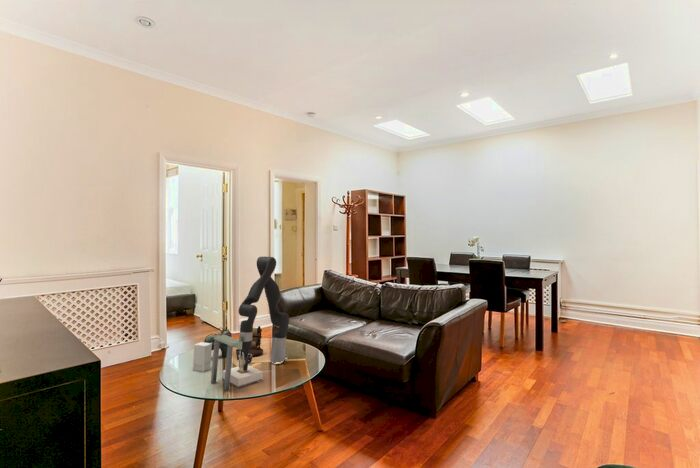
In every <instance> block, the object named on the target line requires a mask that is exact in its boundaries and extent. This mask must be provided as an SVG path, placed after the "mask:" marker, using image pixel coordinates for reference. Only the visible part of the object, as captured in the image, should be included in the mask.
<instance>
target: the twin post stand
mask: <svg viewBox="0 0 700 468" xmlns="http://www.w3.org/2000/svg"><path fill="white" fill-rule="evenodd" d="M214 339H215V341H214V350H213V353H212V362H211V365H212V367H211V374H210V384H212V385H214V384H217V377H218V376H217V375H218V366H219V365H218V364H219V353H220V349H219V344H220V342H222V343H225V344H227V345H228V347H227V356H226V357H225V358H226V360H225V362H226V363H225V369H224V370H225V381H224V380H223V381H224V384H223V392H228V390H229V391H230V385H231V384H230V375H231V368H232V362H233V361H232V360H233V353H234V352H233V351H234V350H233V349H234V348H235V349H240V350H241V349H242V341H240V340H239V339H238V338H234V337H230V336H227V335H221V336H215V337H214Z"/></svg>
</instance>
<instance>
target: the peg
mask: <svg viewBox="0 0 700 468" xmlns="http://www.w3.org/2000/svg"><path fill="white" fill-rule="evenodd" d="M246 358H247V357H246ZM246 361H247V360H246ZM243 368H244V360H243V356H240V367H239V373H241V374H243V373H246V371H244V370H243Z"/></svg>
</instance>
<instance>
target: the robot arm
mask: <svg viewBox="0 0 700 468" xmlns="http://www.w3.org/2000/svg"><path fill="white" fill-rule="evenodd" d="M256 267H257V272H258V273H259V276H260V277H259V278H258V279H257V280H256V281H254V283H253V284H252V285H251V287H250V289H249V291H248V294H247V295H246V297H245V299H244V300H243V301H242V302H241V304H240V306H239V307H238V314H239V316H241V317H245V318H247V319H246V320H245V319H244V320H242V321H241V322H240V327H239V333H238V335H239V336H238V340H240V341H242V349H241V350H240V349H238V348H235V349H236V350H235V354H236V361H238V366H239V367H240V356H243V360H244V368H243V370H244V371H246V370H247V369H248V365H249V364H251V363H252V360H253V357H254V355H253V354H251V353H250V348H251V347H252V337H253V333H252V332H253V328H254V323H255V320H256V317H257V315H258V307H257V306H256V305H255V303H258V302H259V300H260V298H261V295H262V293H263V291H264V293H265V298H266V300H267V305H268V310H269V317H270V323H271V324H272V325H273V326H275V327H278V329H277V330H275V331H273V332H272V335H271V336H272V338H271V349H270V359H269V360H270V361H271V362H273V363H276V362H281V361H283V360H284V359H285V358H287V347H286V345H287V344H286V343H287V335H288V331H289V324H290V316H289V314H288V313H286V312H280V311H279V307H278V305H279V302H280V299H281V291H280V287H279V285H278V283H277V282H276V281H275V280H274V279H273V278H272V274H273V273H274V272H275V269H276V267H277V260H276V258H275V257H274V256H259V257H258V258H257V259H256ZM246 357H247V358H246ZM246 360H247V361H246Z"/></svg>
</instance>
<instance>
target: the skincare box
mask: <svg viewBox="0 0 700 468" xmlns="http://www.w3.org/2000/svg"><path fill="white" fill-rule="evenodd" d="M212 351H213V350H212V343H205V342H204V341H200V342H197V343H195V344H193V362H192V371H195V372H196V371H197V372H203V373H204V372H207V371H209V370H210V369H212V367H211V365H212Z"/></svg>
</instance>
